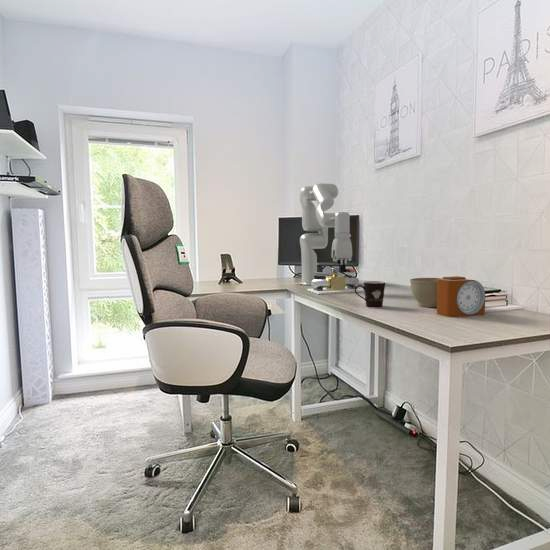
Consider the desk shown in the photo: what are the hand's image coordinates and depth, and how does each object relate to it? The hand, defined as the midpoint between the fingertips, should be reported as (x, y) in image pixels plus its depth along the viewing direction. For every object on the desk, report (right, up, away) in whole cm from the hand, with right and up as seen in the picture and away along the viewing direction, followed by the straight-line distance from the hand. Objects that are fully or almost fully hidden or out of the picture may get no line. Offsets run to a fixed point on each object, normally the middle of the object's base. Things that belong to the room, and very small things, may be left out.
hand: (342, 272), depth 194 cm
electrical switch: (-7, -9, +23) cm, 26 cm away
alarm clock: (+32, -16, -57) cm, 67 cm away
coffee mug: (+5, -14, -38) cm, 41 cm away
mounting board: (-2, -10, +9) cm, 13 cm away
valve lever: (+1, +1, +4) cm, 5 cm away
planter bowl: (+29, -14, -39) cm, 51 cm away
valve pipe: (-2, -10, +10) cm, 14 cm away
